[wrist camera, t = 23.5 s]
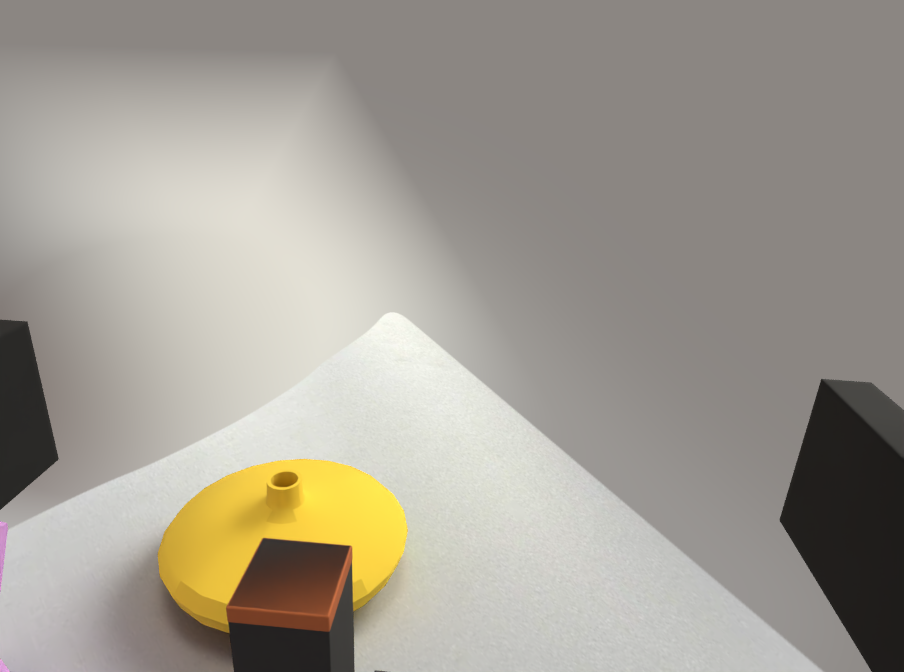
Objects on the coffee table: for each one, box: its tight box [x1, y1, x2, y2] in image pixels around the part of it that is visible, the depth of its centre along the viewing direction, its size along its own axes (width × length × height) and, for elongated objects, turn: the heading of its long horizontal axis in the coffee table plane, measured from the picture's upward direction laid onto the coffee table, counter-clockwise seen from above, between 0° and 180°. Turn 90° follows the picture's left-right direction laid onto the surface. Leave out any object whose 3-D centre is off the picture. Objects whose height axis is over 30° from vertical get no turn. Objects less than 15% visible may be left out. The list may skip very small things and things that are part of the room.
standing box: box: [226, 538, 354, 672], centre depth 28 cm, size 4×4×11 cm
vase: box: [158, 459, 408, 634], centre depth 42 cm, size 16×16×7 cm
